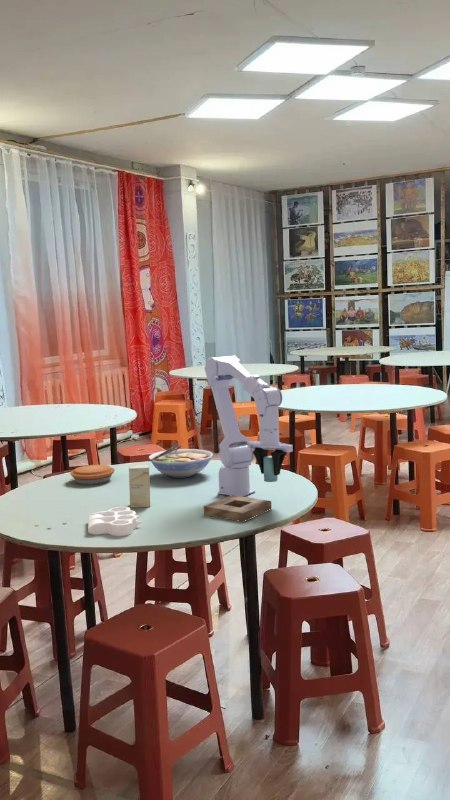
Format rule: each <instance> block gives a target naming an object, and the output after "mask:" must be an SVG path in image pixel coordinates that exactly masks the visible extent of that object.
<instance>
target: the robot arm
mask: <svg viewBox="0 0 450 800" xmlns="http://www.w3.org/2000/svg"><path fill="white" fill-rule="evenodd" d="M241 363H242V362H241V359H240V358H238V357H237V356H236V355H234V354H233V355H225V356H215V357H214V356H210V357H208V358H207V360H206V362H205V365H204V372H205V374H206V375H205V376H206V379H207V382H208V385H209V386H210V389H211V392H212V395H213V400H214V404H215V407H216V410H217V414H218V418H219V422H220V425H221V429H222V433H223V437H224V438H223V439H222V440H221V442H220V443H219V446H218V448H219V459H220V462H221V463H222V465H221V467H220V468H219V469H218V492H217V494H220V495H224V496H225V495H226V496H231V495H236V496H242V497H247V496H248V495H250V494H254V493H255V492H256V490H255V489H250V486H251V485H250V466H251V465H252V462H253V461H254V458H255V459H256V461H257V463H258V466H259V470H260V473H261V475H264V461H263V457H265V456H269V451H272V452H270V456H272V459H273V465H274V475H276V476H277V477H278V476H279V475H281V469H282V465H283V462H284V460H285V458H286V456H287V454H288V453H292V452H293V451H294V449H293V444H288V443H283V442H280V423H279V421H280V420H279V418H280V417H279V406H281V405H282V402H283V394H282V391H281V390H280V389H279V387H278V386H270V385H269V384H268V383H267V382H265V381H264V380H263V379H261V378H260V375H259V374H250V373H249V372H248V371H247V370H246V369H245V368H244V366H243V365H242V364H241ZM235 380H237V381H238V382H240V383H241V384H242V387H243V390H244V391H245V392H246V393H247V394H248V395H250V396H251V397H252V398H253V399H254V404H255V406H256V412H257V414H258V422H259V423H258V425H259V440H257V441H256V440H250V439H249V438H248V437H247V436H245V435H244V434H242V433H241V430H240V426H239V422H238V419H237V416H236V411H235V408H234V404H233V401H232V397H231V394H230V390H229V386H230V385H231V384H232V383H233V382H234V381H235Z"/></svg>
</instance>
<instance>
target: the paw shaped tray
mask: <svg viewBox="0 0 450 800" xmlns="http://www.w3.org/2000/svg"><path fill="white" fill-rule="evenodd" d="M141 517H142V516H140V515H137V512H136V511H135V510H132V509H131V507H130V506H129V507H128V506H117V507H115V506H114V507H111V508H110V509H108V510H105V511H103V510H102V511H97V512H93V513H91V514H90V515H88V517H87V519H88V522H87V532H88V533H89V534H91V535H93V536H94V535H101V534H110V535H111V536H113V537H114V536H116V537H122V536H123V537H124V536H128V535H131V534H134V530H136V529H137V528H138V526H139V525H141V524H142V523H143V522H142V521H140V520H138V519H140V518H141Z"/></svg>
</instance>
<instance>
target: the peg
mask: <svg viewBox="0 0 450 800" xmlns="http://www.w3.org/2000/svg"><path fill="white" fill-rule="evenodd" d="M263 461H264V474H263V481H264V482H266V483H275V482H278V478H279V477H278V475H277V476H276V475H274V465H273V459H272V455H268V456H265V457H263Z"/></svg>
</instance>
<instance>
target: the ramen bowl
mask: <svg viewBox="0 0 450 800" xmlns="http://www.w3.org/2000/svg"><path fill="white" fill-rule="evenodd" d="M213 455H214V454H213V453H212V451H209V450H204V449H196V448H182V446H181V445H173V446H172V447H170V448H168V449H167V450H162V451H158V452H155V453H152V454H150V455H149V456H148V459H149V460H148V462H151V464H152V465H153V466H154V468H155V469H156V470H157V471H158V472H160V473H162V474H164V475H168V476H170V477H172V478H174V479H182V478H183V479H184V478H190V477H191V476H193V475H195V474H198V473H199V472H202V471H203V470H204V469H205V468H206V467H207V465H209V463H210V461H211V460H212V457H213Z"/></svg>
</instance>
